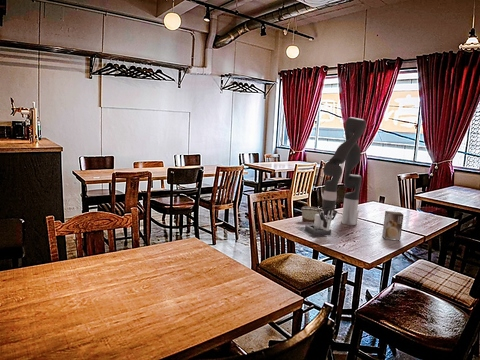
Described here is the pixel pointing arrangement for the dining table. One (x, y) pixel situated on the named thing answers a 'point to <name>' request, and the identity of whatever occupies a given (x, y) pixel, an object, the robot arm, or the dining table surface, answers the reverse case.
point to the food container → (309, 213)
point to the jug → (320, 223)
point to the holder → (317, 232)
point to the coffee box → (392, 225)
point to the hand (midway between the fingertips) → (326, 227)
